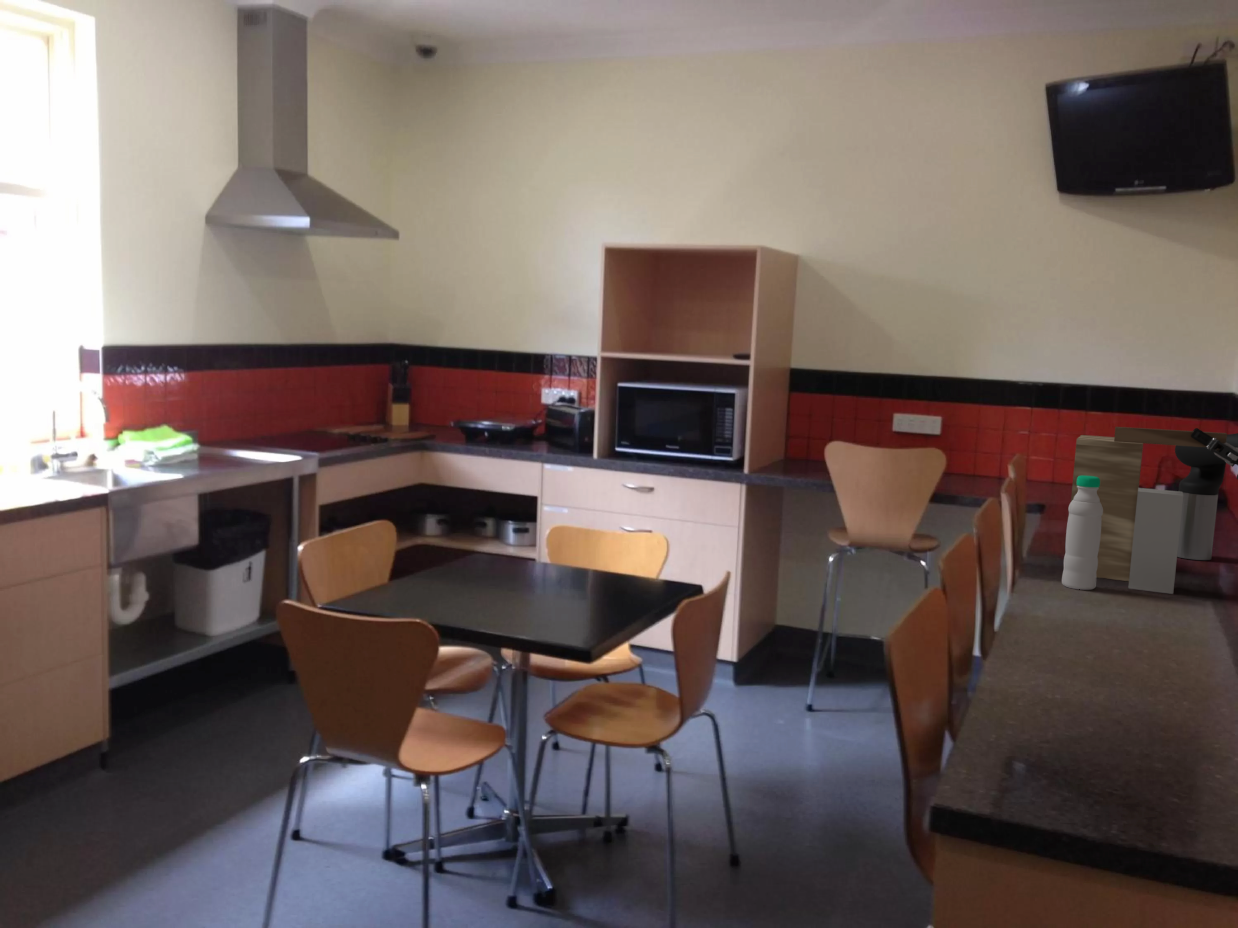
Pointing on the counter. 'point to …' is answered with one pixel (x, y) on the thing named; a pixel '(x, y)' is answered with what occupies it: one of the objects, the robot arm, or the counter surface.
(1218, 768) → the counter surface
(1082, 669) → the counter surface
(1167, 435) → the batten
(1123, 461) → the wooden open box
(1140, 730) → the counter surface
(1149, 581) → the riser block
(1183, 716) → the counter surface
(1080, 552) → the white bottle
